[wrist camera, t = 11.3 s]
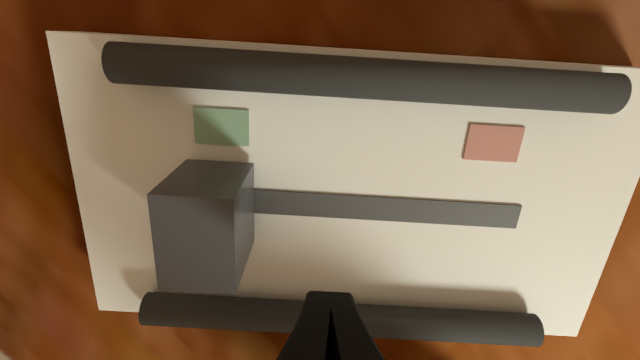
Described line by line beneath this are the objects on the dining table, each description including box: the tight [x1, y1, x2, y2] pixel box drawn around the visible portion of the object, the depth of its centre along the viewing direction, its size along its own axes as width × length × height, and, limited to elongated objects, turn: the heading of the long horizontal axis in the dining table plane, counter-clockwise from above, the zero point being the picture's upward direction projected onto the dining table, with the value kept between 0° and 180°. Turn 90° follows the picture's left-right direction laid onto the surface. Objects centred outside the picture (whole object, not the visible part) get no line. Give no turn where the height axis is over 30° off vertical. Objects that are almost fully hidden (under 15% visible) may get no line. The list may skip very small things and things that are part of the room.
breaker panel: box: [46, 31, 640, 336], centre depth 19 cm, size 14×26×3 cm, turn 86°
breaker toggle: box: [147, 159, 254, 294], centre depth 15 cm, size 4×3×4 cm
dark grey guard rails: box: [101, 41, 632, 347], centre depth 17 cm, size 14×20×2 cm
